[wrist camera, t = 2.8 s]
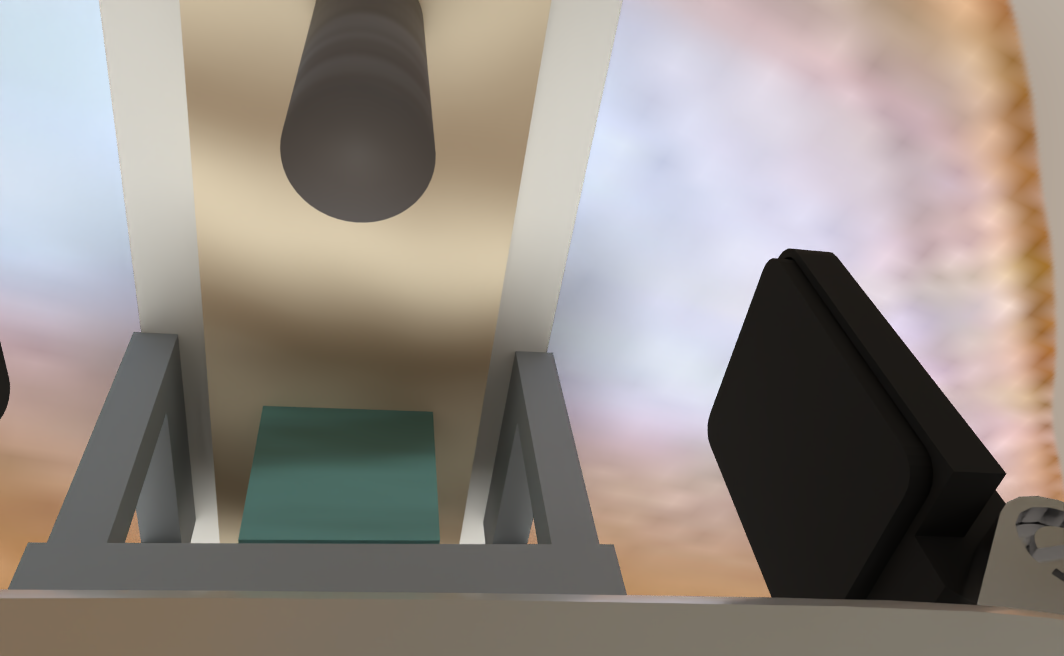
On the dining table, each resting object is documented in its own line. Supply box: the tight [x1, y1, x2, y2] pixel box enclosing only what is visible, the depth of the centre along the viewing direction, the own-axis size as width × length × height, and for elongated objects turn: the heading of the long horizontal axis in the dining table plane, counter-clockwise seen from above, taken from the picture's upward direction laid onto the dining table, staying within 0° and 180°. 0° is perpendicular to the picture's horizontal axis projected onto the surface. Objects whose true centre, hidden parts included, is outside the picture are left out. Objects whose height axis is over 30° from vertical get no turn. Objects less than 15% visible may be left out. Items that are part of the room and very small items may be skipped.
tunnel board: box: [8, 0, 627, 595], centre depth 20 cm, size 38×13×11 cm, turn 171°
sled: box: [179, 0, 551, 544], centre depth 21 cm, size 21×8×8 cm, turn 171°
